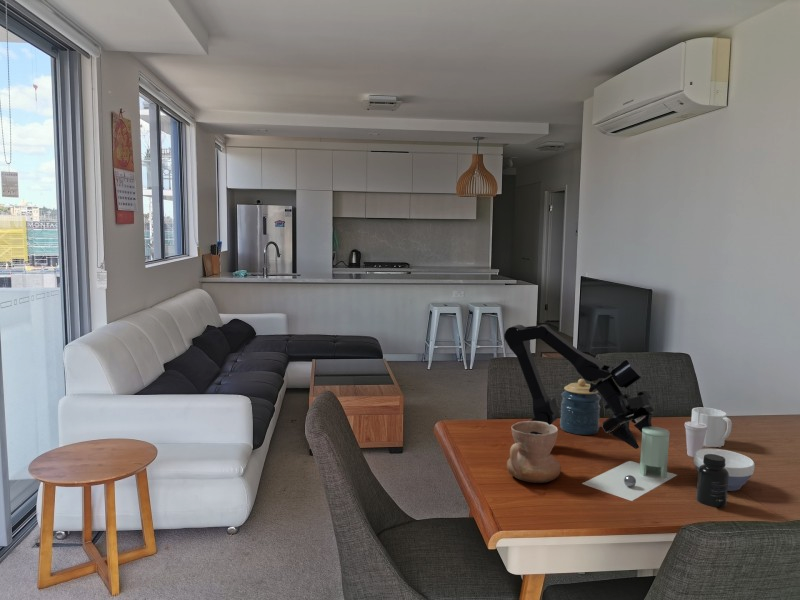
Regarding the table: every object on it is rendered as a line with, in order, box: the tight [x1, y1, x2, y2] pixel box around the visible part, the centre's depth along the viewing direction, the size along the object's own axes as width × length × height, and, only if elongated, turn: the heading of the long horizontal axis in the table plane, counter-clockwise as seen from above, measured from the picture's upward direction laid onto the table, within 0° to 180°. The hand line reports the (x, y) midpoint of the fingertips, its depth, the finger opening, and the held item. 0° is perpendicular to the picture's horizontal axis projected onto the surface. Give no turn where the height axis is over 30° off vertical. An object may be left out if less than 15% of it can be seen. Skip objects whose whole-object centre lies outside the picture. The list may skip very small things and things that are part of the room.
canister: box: [559, 378, 602, 436], centre depth 211 cm, size 13×13×18 cm
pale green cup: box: [639, 426, 670, 479], centre depth 172 cm, size 7×7×12 cm
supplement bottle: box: [695, 454, 729, 509], centre depth 155 cm, size 7×7×12 cm
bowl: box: [693, 448, 755, 492], centre depth 167 cm, size 14×14×8 cm
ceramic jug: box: [506, 420, 562, 484], centre depth 169 cm, size 18×14×14 cm
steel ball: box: [624, 475, 636, 487], centre depth 163 cm, size 3×3×3 cm
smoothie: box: [684, 410, 708, 458], centre depth 188 cm, size 6×6×14 cm
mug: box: [690, 406, 733, 448], centre depth 200 cm, size 13×10×10 cm
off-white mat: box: [581, 460, 678, 502], centre depth 168 cm, size 26×14×1 cm, turn 132°
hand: (646, 444), depth 173 cm, fingers open, 9 cm apart
